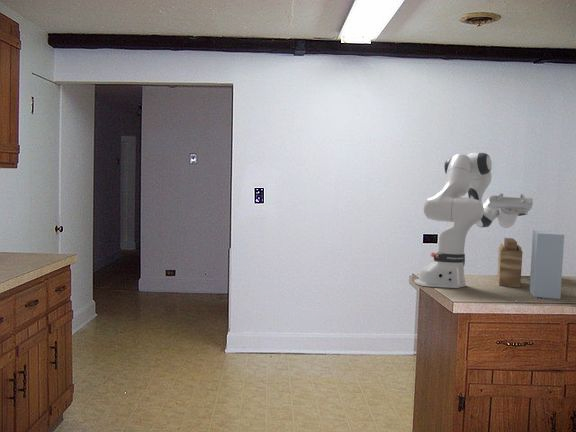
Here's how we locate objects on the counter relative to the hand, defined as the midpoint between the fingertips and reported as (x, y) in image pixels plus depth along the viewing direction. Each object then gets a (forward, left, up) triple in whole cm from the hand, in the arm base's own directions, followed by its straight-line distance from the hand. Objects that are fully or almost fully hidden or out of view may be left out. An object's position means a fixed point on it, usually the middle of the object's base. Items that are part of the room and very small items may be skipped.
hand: (511, 195), depth 291 cm
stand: (-3, -42, -40) cm, 59 cm away
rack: (-7, -17, -40) cm, 44 cm away
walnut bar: (-6, -15, -24) cm, 29 cm away
